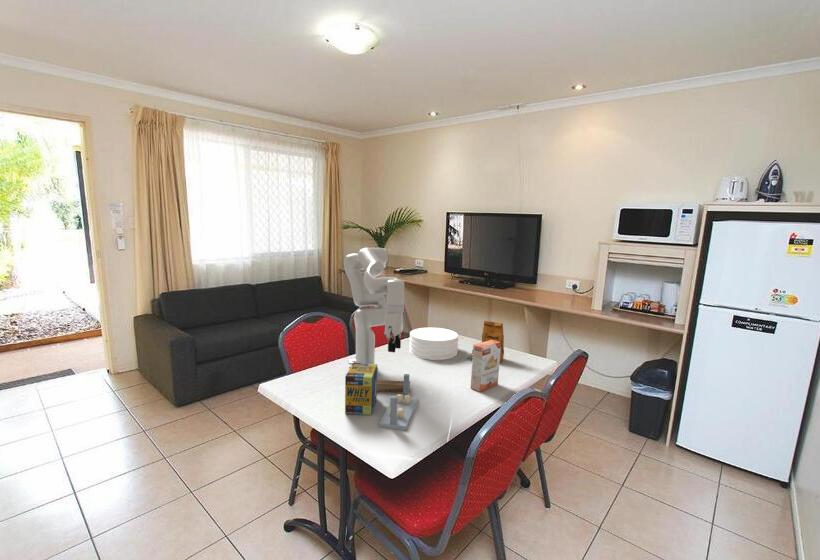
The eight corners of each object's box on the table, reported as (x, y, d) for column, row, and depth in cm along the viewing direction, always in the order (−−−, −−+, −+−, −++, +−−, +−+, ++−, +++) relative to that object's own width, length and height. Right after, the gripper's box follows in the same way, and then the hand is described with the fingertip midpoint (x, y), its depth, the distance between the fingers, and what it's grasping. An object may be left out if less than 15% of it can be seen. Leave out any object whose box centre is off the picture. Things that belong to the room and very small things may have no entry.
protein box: (344, 414, 148) (344, 376, 146) (352, 397, 164) (352, 362, 161) (371, 416, 148) (372, 377, 146) (377, 398, 163) (377, 363, 161)
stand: (379, 426, 140) (379, 396, 138) (395, 398, 163) (395, 372, 162) (405, 430, 138) (406, 400, 136) (418, 401, 161) (419, 375, 160)
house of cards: (486, 360, 215) (487, 347, 214) (480, 364, 208) (481, 351, 207) (471, 357, 220) (472, 344, 219) (465, 361, 212) (466, 347, 211)
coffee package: (499, 365, 207) (502, 325, 204) (478, 360, 214) (480, 321, 211) (505, 360, 215) (508, 321, 212) (485, 355, 222) (487, 318, 219)
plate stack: (399, 351, 226) (400, 332, 224) (432, 342, 245) (433, 325, 243) (434, 364, 205) (434, 343, 204) (467, 354, 224) (468, 335, 223)
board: (409, 393, 169) (409, 385, 168) (373, 392, 169) (373, 383, 169) (409, 389, 173) (410, 381, 173) (374, 388, 174) (374, 379, 173)
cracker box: (480, 393, 171) (483, 347, 168) (469, 388, 176) (472, 344, 173) (499, 385, 181) (501, 341, 178) (488, 381, 185) (490, 338, 182)
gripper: (394, 304, 173) (393, 343, 175) (378, 311, 157) (378, 354, 159) (410, 305, 170) (409, 345, 172) (395, 313, 154) (394, 357, 156)
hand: (394, 349), depth 166 cm, fingers open, 5 cm apart
